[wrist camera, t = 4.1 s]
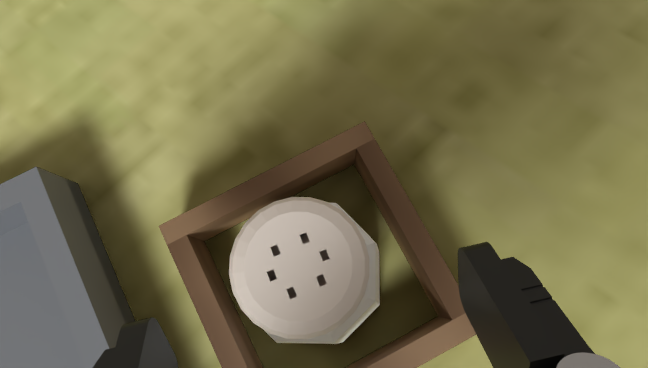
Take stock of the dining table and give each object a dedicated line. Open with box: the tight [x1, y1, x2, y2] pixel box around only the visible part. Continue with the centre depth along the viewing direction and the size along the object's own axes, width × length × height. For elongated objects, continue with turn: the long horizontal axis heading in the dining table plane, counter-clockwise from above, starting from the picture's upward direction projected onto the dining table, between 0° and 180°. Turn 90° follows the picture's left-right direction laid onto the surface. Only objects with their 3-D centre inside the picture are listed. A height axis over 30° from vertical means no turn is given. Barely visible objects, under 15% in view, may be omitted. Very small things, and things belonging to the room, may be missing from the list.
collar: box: [159, 121, 476, 368], centre depth 19 cm, size 9×9×2 cm
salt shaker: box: [229, 197, 380, 344], centre depth 15 cm, size 5×5×11 cm
